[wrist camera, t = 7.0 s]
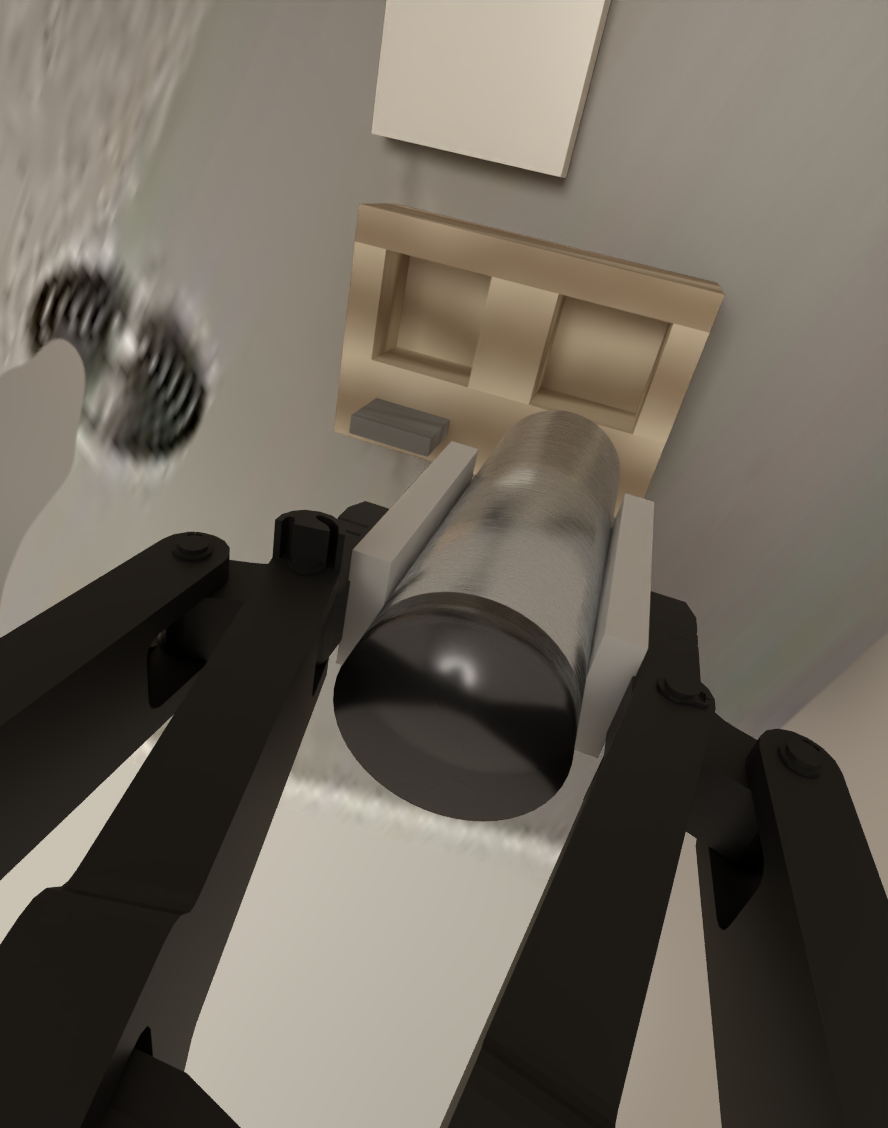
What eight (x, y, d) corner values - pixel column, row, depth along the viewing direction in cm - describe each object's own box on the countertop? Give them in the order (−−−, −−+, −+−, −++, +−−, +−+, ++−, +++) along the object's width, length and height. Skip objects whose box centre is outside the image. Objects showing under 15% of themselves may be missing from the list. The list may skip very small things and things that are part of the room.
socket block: (394, 203, 37) (328, 204, 30) (717, 283, 34) (730, 305, 27) (366, 408, 43) (306, 450, 36) (637, 489, 40) (631, 551, 33)
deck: (417, -121, 30) (402, -139, 28) (632, -84, 29) (630, -102, 27) (385, 136, 35) (371, 133, 34) (565, 178, 34) (560, 177, 32)
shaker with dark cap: (509, 394, 20) (348, 590, 10) (639, 431, 19) (610, 680, 9) (480, 509, 22) (321, 769, 12) (596, 546, 21) (533, 852, 11)
